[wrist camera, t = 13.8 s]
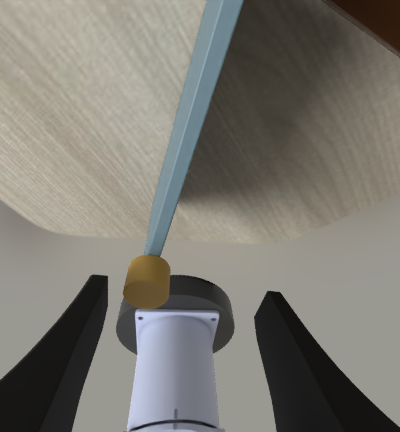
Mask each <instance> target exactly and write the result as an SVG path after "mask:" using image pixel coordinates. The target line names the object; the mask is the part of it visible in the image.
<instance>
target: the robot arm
mask: <svg viewBox="0 0 400 432" xmlns="http://www.w3.org/2000/svg"><path fill="white" fill-rule="evenodd" d="M107 307H108V276H103V275H91V276H90V277H89V279H88V281H87V282H86V284H85V285H84V287H83V288H82V290H81V291H80V292H79V294H78V295H77V297H76V298H75V299H74V301H73V302H72V303H71V304H70V306H69V307H68V308H67V309H66V311H65V312H64V313H63V314H62V316H61V317H60V318H59V319H58V321H57V322H56V323H55V324H54V325H53V326H52V327H51V329H50V330H49V331H48V332H47V333H46V334H45V335H44V337H43V338H42V339H41V340H40V341H39V342H38V343H37V344H36V345H35V346H34V347H33V348H32V350H31V351H30V352H29V353H28V354H27V355H26V356H25V357H24V358H23V359H22V360H21V361H20V362H19V363H18V364H17V365H16V366H15V367H14V368H13V369H11V370H10V371H9V372H8V373H7V374H6V375H5V376H4V377H3V378H2V379H1V380H0V432H72V428H73V423H74V419H75V415H76V411H77V407H78V403H79V399H80V396H81V392H82V389H83V386H84V382H85V379H86V377H87V374H88V371H89V367H90V365H91V362H92V359H93V356H94V353H95V350H96V347H97V344H98V341H99V338H100V335H101V332H102V329H103V325H104V320H105V316H106V312H107ZM254 319H255V329H256V336H257V342H258V346H259V350H260V354H261V358H262V362H263V366H264V370H265V374H266V378H267V382H268V386H269V390H270V395H271V399H272V405H273V410H274V417H275V424H276V430H277V432H400V427H399V426H397V425H396V424H395V423H394V422H393V421H392V420H391V419H390V418H388V417H387V416H386V415H385V414H384V413H383V412H382V411H381V410H379V408H378V407H376V406H375V405H374V404H373V403H372V402H371V401H370V400H369V399H368V398H367V397H366V396H365V395H364V394H363V393H362V392H361V391H360V390H359V389H358V388H357V387H356V386H355V385H354V384H353V383H352V382H351V381H350V380H349V379H348V377H346V375H345V374H344V373H343V372H342V371H341V370H340V369H339V368H338V367H337V366H336V364H335V363H334V362H333V361H332V360H331V359H330V357H329V356H328V355H327V354H326V353H325V351H324V350H323V349H322V348H321V347H320V345H319V344H318V343H317V341H316V340H315V339H314V338H313V336H312V335H311V334H310V333H309V332H308V330H307V329H306V327H305V326H304V325H303V323H302V322H301V321H300V319H299V318H298V316H297V315H296V314H295V312H294V311H293V309H292V308H291V307H290V305H289V304H288V302H287V301H286V300H285V298H284V297H283V295H282V294H281V293H280V292H274V291H267V293H266V295H265V297H264V299H263V301H262V303H261V305H260V307H259V309H258V311H257V313H256V315H255V316H254ZM218 320H219V312H218V311H217V310H185V309H137V310H136V312H135V322H136V338H137V353H138V356H137V363H136V370H135V377H134V384H133V391H132V398H131V405H130V413H129V420H128V427H127V431H124V432H225V429H220V428H219V417H218V405H217V394H216V383H215V372H214V361H213V349H212V346H213V341H214V337H215V333H216V329H217V324H218Z"/></svg>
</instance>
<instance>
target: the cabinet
mask: <svg viewBox="0 0 400 432" xmlns="http://www.w3.org/2000/svg"><path fill="white" fill-rule="evenodd" d="M322 1H323V2H325V3H326V4H328V5H329V6H330V7H332V8H333V9H334V10H336V11H337V12H338V13H340V14H341V15H343V16H344V17H345V18H347V19H348V20H349V21H351V22H352V23H353V24H355V25H356V26H358V27H359V28H360V29H362V30H363V31H364V32H366V33H367V34H369V35H370V36H371V37H373V38H374V39H375V40H377V41H378V42H379V43H381V44H382V45H384V46H385V47H386V48H388V49H389V50H390V51H392V52H393V53H395V54H396V55H397V56H399V57H400V0H322Z"/></svg>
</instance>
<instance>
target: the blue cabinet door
mask: <svg viewBox="0 0 400 432" xmlns="http://www.w3.org/2000/svg"><path fill="white" fill-rule="evenodd" d="M243 2H244V0H207V2H206V5H205V9H204V13H203V17H202V20H201V24H200V28H199V32H198V35H197V39H196V43H195V47H194V50H193V54H192V58H191V62H190V65H189V69H188V73H187V77H186V80H185V84H184V88H183V92H182V96H181V99H180V103H179V107H178V111H177V114H176V118H175V122H174V126H173V129H172V133H171V137H170V141H169V144H168V148H167V152H166V156H165V159H164V163H163V167H162V171H161V174H160V178H159V182H158V186H157V189H156V193H155V197H154V201H153V206H152V211H151V217H150V223H149V228H148V234H147V240H146V246H145V251H144V255H142V256H139V257H137V258H135V259H134V260H133V261H132V262H131V263H130V265H129V268H128V273H127V277H126V282H125V286H124V291H123V295H124V298H125V300H126V301H127V302H128V303H129V304H130V305H132V306H134V307H136V308H140V309H154V308H158V307H160V306H162V305H163V304H165V303H166V301H167V300H168V298H169V286H170V266H169V264H168V263H167V262H166V261H165V260H164V259H162V258H161V257H160V255H161V252H162V249H163V246H164V243H165V240H166V237H167V234H168V231H169V228H170V225H171V222H172V219H173V216H174V213H175V210H176V207H177V204H178V201H179V198H180V194H181V191H182V188H183V185H184V182H185V179H186V176H187V173H188V170H189V167H190V164H191V161H192V158H193V155H194V152H195V149H196V146H197V143H198V140H199V137H200V133H201V130H202V127H203V124H204V121H205V118H206V115H207V112H208V109H209V106H210V103H211V100H212V97H213V94H214V91H215V88H216V85H217V82H218V79H219V76H220V72H221V69H222V66H223V63H224V60H225V57H226V54H227V51H228V48H229V45H230V42H231V39H232V36H233V33H234V30H235V27H236V24H237V21H238V18H239V15H240V12H241V8H242V5H243Z"/></svg>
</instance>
